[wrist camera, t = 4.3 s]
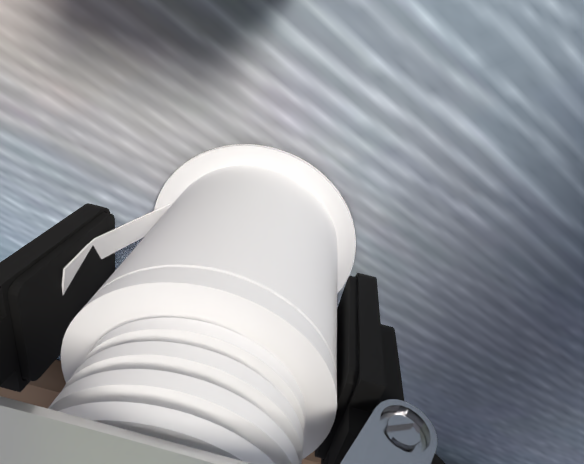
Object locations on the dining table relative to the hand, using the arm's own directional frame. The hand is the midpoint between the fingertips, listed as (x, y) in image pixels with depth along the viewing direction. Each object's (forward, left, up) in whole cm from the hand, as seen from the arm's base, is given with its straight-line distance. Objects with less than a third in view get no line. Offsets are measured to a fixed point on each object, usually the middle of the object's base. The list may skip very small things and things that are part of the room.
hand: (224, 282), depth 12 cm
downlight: (0, 0, -3) cm, 3 cm away
